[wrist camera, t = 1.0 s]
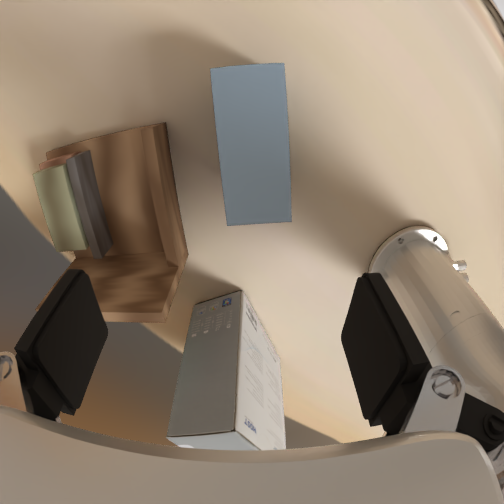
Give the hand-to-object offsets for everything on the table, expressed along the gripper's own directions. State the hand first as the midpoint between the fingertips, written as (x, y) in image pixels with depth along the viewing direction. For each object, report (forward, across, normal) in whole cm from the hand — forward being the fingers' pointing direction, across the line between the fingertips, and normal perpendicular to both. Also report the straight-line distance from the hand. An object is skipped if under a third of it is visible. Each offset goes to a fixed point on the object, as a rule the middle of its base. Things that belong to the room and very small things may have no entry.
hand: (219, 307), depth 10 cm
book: (+23, -2, -3) cm, 24 cm away
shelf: (+24, +15, +5) cm, 28 cm away
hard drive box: (+23, 0, +26) cm, 35 cm away
